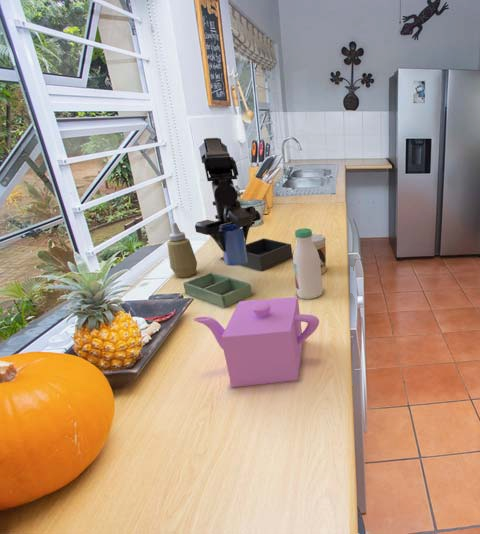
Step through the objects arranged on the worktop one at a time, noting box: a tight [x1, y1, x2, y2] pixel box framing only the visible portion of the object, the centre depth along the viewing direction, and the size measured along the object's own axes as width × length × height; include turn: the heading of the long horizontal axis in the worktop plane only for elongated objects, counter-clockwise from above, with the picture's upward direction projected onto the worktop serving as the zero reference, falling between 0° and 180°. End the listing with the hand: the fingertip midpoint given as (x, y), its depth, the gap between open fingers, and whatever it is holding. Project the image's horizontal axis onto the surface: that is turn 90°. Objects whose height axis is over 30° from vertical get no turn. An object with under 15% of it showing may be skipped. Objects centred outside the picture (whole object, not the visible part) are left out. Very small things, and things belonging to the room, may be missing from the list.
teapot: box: [193, 296, 320, 388], centre depth 83 cm, size 15×25×14 cm, turn 99°
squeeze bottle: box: [167, 222, 198, 278], centre depth 128 cm, size 8×8×18 cm
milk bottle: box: [292, 227, 324, 300], centre depth 113 cm, size 8×8×20 cm
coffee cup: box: [312, 233, 327, 275], centre depth 131 cm, size 9×9×12 cm
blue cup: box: [221, 225, 248, 267], centre depth 118 cm, size 7×7×11 cm
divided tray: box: [183, 271, 253, 309], centre depth 116 cm, size 19×10×4 cm, turn 59°
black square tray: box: [240, 237, 293, 272], centre depth 141 cm, size 15×15×6 cm
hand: (234, 247), depth 119 cm, fingers closed on blue cup, 7 cm apart
